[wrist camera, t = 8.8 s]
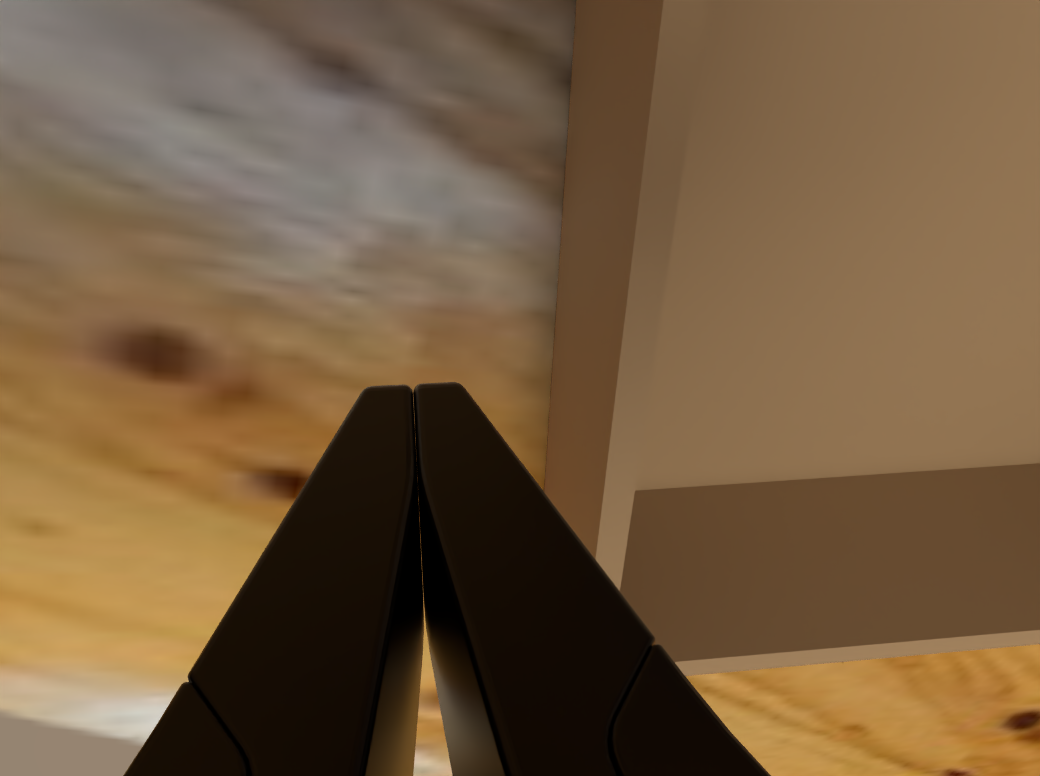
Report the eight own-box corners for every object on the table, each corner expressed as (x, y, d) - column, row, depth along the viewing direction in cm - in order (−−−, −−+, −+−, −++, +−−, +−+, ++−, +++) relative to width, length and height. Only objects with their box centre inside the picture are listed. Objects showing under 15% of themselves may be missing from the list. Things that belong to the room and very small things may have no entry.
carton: (543, 496, 27) (580, 685, 23) (636, -908, 12) (810, -1204, 7) (1083, 459, 29) (1217, 628, 24) (1779, -801, 13) (2500, -983, 9)
